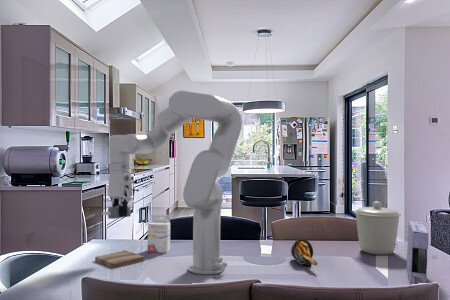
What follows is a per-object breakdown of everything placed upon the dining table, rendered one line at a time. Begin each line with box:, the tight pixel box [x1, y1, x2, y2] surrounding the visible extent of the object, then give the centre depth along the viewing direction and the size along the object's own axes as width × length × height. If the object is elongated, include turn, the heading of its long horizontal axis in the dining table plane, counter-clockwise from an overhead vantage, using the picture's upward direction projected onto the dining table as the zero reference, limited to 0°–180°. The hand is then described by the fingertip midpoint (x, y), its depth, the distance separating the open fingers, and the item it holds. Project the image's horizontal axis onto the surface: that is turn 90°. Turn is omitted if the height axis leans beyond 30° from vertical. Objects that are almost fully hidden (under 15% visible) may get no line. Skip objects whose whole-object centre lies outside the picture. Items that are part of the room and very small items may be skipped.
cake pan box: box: [406, 220, 429, 285], centre depth 126 cm, size 19×5×18 cm, turn 158°
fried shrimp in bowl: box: [290, 238, 319, 267], centre depth 143 cm, size 9×11×18 cm
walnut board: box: [94, 250, 146, 269], centre depth 146 cm, size 13×13×2 cm
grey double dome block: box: [101, 204, 132, 220], centre depth 147 cm, size 4×11×4 cm, turn 137°
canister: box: [354, 200, 402, 256], centre depth 161 cm, size 18×18×21 cm
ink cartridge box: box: [147, 214, 171, 254], centre depth 160 cm, size 9×5×15 cm, turn 84°
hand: (119, 215), depth 148 cm, fingers closed on grey double dome block, 4 cm apart
